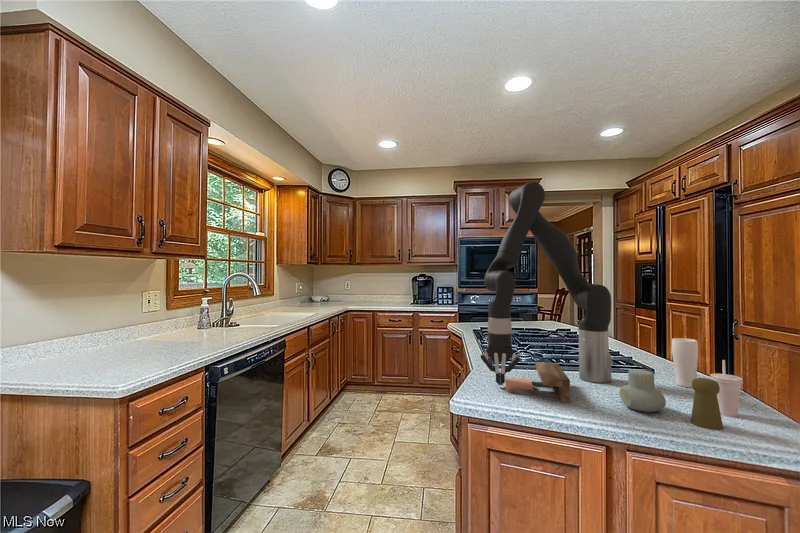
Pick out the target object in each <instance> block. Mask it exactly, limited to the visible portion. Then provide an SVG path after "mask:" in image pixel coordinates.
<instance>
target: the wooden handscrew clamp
mask: <svg viewBox="0 0 800 533" xmlns="http://www.w3.org/2000/svg"><path fill="white" fill-rule="evenodd" d="M535 369H536V372H537V374H538V376H539V378H540V381H534V380H533V381H532V380H531V382H532V385H533V387H545V388H553V390H554V391H550V390H537V389H533V390H524V389H511V392H510V394H515V395H525V396H528V395H529V396H539V395H541V396H542V397H553V396H555V397H557V398H560V400H561V402H562V403H563V402H564V404H565V403H566V404H571V380H570V378H569V377H568V376H567V374H566V373H565V371H564V370H563V369H562V368H561V366H560V365H559V363H557V362H556V363H555V362H540V361H539V362H537V361H536V362H535ZM541 396H540V397H541Z"/></svg>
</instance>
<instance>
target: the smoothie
mask: <svg viewBox="0 0 800 533" xmlns="http://www.w3.org/2000/svg"><path fill="white" fill-rule="evenodd" d="M721 361H722V363H721V364H722V367H721V368H722V373H711V374H710V377H709V379H711V380H714V381H716V382H717V383H718V384H719V387H720V391H719V393H718V394H717V398H718V403H719V409H720V414H721V416H726V417H731V418H732V417H737V416H738V412H739V402H740V396H741V390H742V384H743V383H744V381H743V378H742V377H739V376H737V375H733V374H727V373H726V360H725V359H722V360H721Z"/></svg>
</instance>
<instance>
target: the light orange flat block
mask: <svg viewBox="0 0 800 533" xmlns="http://www.w3.org/2000/svg"><path fill="white" fill-rule="evenodd" d="M531 381H532V380H531V378H525V377H524V378H523V377H521V378H520V377H509V376H505V383H504V385H505V386H504V387H505V392H509V393H511V389H524V390H534V386H533V385H532V382H531Z"/></svg>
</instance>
